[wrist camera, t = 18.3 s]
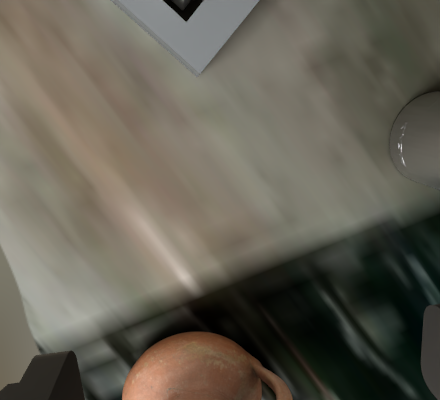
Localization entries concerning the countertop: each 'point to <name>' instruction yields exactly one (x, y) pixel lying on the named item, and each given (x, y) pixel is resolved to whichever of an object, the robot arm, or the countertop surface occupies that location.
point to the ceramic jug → (199, 371)
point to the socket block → (189, 27)
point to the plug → (181, 3)
